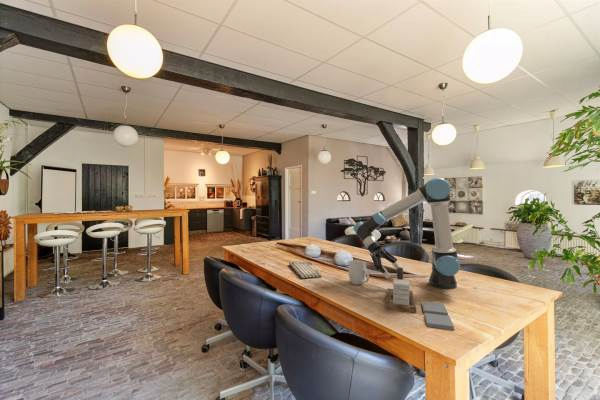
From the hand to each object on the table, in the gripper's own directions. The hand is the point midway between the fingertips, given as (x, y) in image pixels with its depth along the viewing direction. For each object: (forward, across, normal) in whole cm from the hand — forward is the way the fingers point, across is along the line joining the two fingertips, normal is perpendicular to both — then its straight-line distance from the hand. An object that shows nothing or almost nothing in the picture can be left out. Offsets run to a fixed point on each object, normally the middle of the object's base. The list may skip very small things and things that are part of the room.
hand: (395, 274), depth 152 cm
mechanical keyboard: (-40, +7, -55) cm, 68 cm away
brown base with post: (+12, +8, -2) cm, 15 cm away
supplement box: (+15, +15, 0) cm, 21 cm away
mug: (-9, +2, -24) cm, 26 cm away
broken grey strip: (+26, +12, +12) cm, 31 cm away
